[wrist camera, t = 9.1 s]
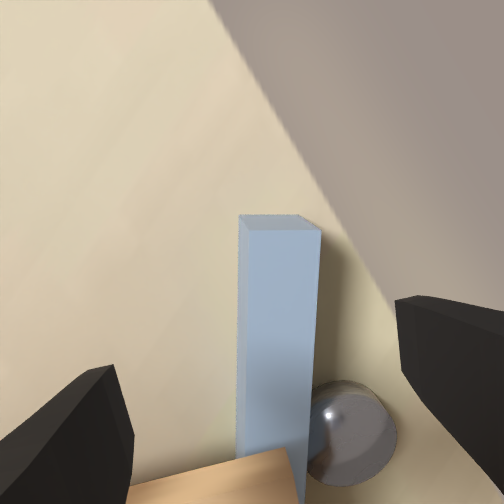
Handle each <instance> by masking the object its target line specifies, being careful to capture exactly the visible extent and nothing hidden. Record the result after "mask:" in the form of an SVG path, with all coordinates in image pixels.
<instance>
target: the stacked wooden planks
mask: <svg viewBox="0 0 504 504" xmlns="http://www.w3.org/2000/svg"><path fill="white" fill-rule="evenodd" d="M126 504H299V501H298V496H297V491H296V486H295V480H294V475H293V472H292V469H291V465H290V462H289V459H288V455H287V452H286V449H285V447H282V448H278V449H274V450H270V451H266V452H262V453H258V454H254V455H251V456H247V457H243V458H239V459H235V460H231V461H227V462H223V463H219V464H215V465H211V466H207V467H203V468H200V469H196V470H192V471H188V472H184V473H180V474H176V475H172V476H168V477H164V478H160V479H156V480H152V481H149V482H145V483H141V484H137V485H133V486H129V490H128V495H127V500H126Z"/></svg>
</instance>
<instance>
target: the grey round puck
mask: <svg viewBox="0 0 504 504" xmlns="http://www.w3.org/2000/svg"><path fill="white" fill-rule="evenodd" d="M396 441H397V432H396V427H395V424H394V421H393V420H392V418H391V416H390V415H389V414H388V412H387V411H386V409H385V408H384V407H383V405H382V404H381V402H380V401H379V400H378V398H377V397H376V396H375V394H374V393H373V392H372V391H371V390H370V389H369V388H367V387H366V386H364V385H362V384H360V383H357V382H353V381H346V380H341V381H333V382H329V383H326V384H324V385H321V386H319V387H317V388H316V389H314V390H313V391H312V392H311V408H310V424H309V440H308V456H307V471H308V473H309V474H310V475H311V476H312V477H314V478H315V479H316V480H318V481H320V482H322V483H324V484H327V485H331V486H340V487H343V486H351V485H356V484H359V483H362V482H364V481H366V480H368V479H370V478H372V477H373V476H375V475H376V474H377V473H379V472H380V471H381V470H382V469H383V468H384V467H385V466H386V464H387V463H388V462H389V460H390V458H391V457H392V455H393V452H394V450H395V447H396Z"/></svg>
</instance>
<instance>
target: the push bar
mask: <svg viewBox="0 0 504 504" xmlns="http://www.w3.org/2000/svg"><path fill="white" fill-rule="evenodd" d="M320 246H321V230H320V229H319V228H317V227H316V226H314V225H313V224H311V223H310V222H308V221H307V220H305V219H304V218H302V217H301V216H299V215H239V244H238V317H237V390H236V459H239V458H243V457H247V456H251V455H254V454H258V453H262V452H266V451H270V450H274V449H278V448H282V447H285V449H286V452H287V455H288V459H289V462H290V465H291V469H292V472H293V475H294V480H295V486H296V491H297V496H298V501H299V504H305V489H306V472H307V456H308V440H309V424H310V408H311V392H312V375H313V359H314V343H315V327H316V311H317V294H318V278H319V262H320Z"/></svg>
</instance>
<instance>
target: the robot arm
mask: <svg viewBox="0 0 504 504" xmlns="http://www.w3.org/2000/svg"><path fill="white" fill-rule="evenodd" d="M395 309H396V319H397V330H398V340H399V350H400V360H401V371H402V372H403V374H404V375H405V377H406V379H407V380H408V382H409V383H410V385H411V386H412V388H413V389H414V391H415V392H416V394H417V395H418V397H419V398H420V399H421V401H422V402H423V403H424V405H425V406H426V407H427V408H428V409H429V410H430V411H431V413H432V414H433V415H434V416H435V417H436V418H437V419H438V421H439V422H440V423H441V424H442V425H443V426H444V427H445V428H446V430H447V431H448V432H449V433H450V434H451V435H452V436H453V437H454V438H455V439H456V441H457V442H458V443H459V444H460V445H461V446H462V447H463V448H464V449H465V451H466V452H467V453H468V454H469V455H470V456H471V457H472V458H473V459H474V461H475V462H476V463H477V464H478V465H479V466H480V467H481V468H482V469H483V471H484V472H485V473H486V474H487V475H488V476H489V478H490V479H491V480H492V481H493V482H494V484H495V485H496V486H497V487H498V488H499V490H500V491H501V492H502V494H503V495H504V311H498V310H493V309H489V308H484V307H479V306H475V305H470V304H466V303H461V302H456V301H451V300H447V299H441V298H436V297H430V296H419V295H417V296H413V297H408V298H404V299H399V300H395ZM134 437H135V435H134V432H133V428H132V425H131V422H130V418H129V415H128V411H127V408H126V405H125V401H124V398H123V395H122V391H121V388H120V384H119V381H118V378H117V374H116V371H115V368H114V364H112V365H108V366H103V367H99V368H95V369H90V370H87V371H86V372H84V373H83V374H81V375H80V376H79V377H77V378H76V379H75V380H73V381H72V382H71V383H70V384H69V385H67V386H66V387H65V388H64V389H63V390H61V391H60V392H59V393H58V394H57V395H56V396H54V397H53V398H52V399H51V400H50V401H49V402H47V403H46V404H45V405H44V406H43V407H41V408H40V409H39V410H38V411H37V412H36V413H34V414H33V415H32V416H31V417H30V418H28V419H27V420H26V421H25V422H23V423H22V424H21V425H20V426H18V427H17V428H16V429H15V430H13V431H12V432H11V433H10V434H8V435H7V436H6V437H4V438H3V439H2V440H1V441H0V504H126V500H127V495H128V490H129V485H130V480H131V475H132V465H133V453H134Z"/></svg>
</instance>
